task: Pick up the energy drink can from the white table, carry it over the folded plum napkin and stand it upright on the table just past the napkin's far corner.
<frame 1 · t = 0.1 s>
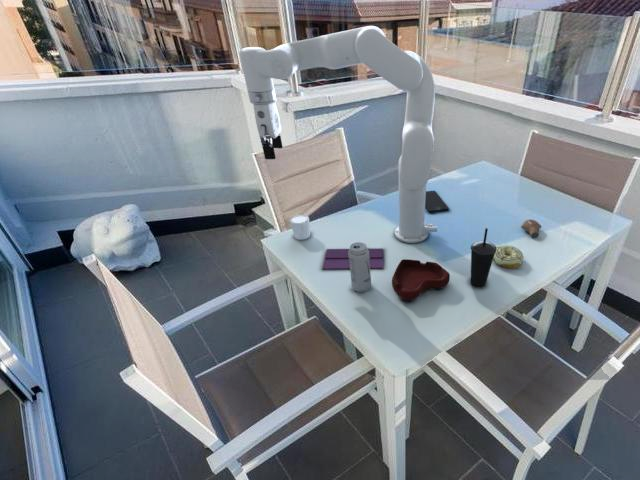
hand: (274, 153, 124), 31 cm above the table, tool pointing down, fingers open, 9 cm apart
napkin: (354, 259, 132), on the table
drinking cup: (477, 283, 123), on the table
ashtray: (415, 284, 122), on the table
cell phone: (431, 202, 166), on the table
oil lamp: (530, 232, 148), on the table
decorated donut: (506, 261, 133), on the table
energy drink can: (361, 287, 121), on the table
shot glass: (302, 236, 144), on the table
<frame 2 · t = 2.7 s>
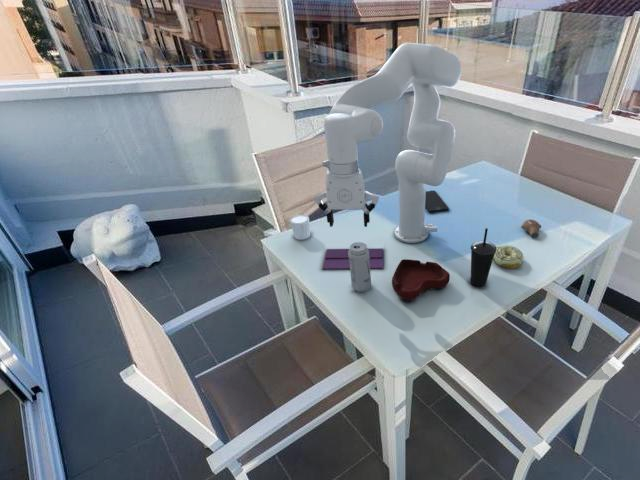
hand: (349, 224, 109), 21 cm above the table, tool pointing down, fingers open, 9 cm apart
nothing on the table moved.
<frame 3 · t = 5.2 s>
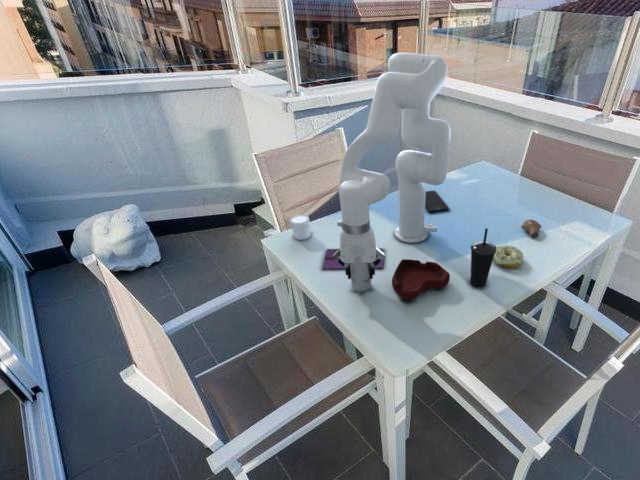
hand: (360, 275, 118), 4 cm above the table, tool pointing down, fingers closed on energy drink can, 6 cm apart
energy drink can: (361, 287, 121), on the table, touching gripper
everything else where it was.
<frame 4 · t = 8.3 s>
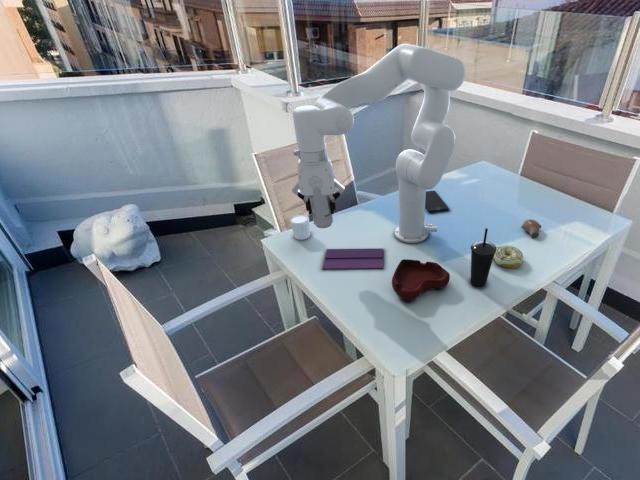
hand: (321, 211, 118), 19 cm above the table, tool pointing down, fingers closed on energy drink can, 6 cm apart
energy drink can: (323, 224, 121), point 15 cm above the table, touching gripper
everything else where it was.
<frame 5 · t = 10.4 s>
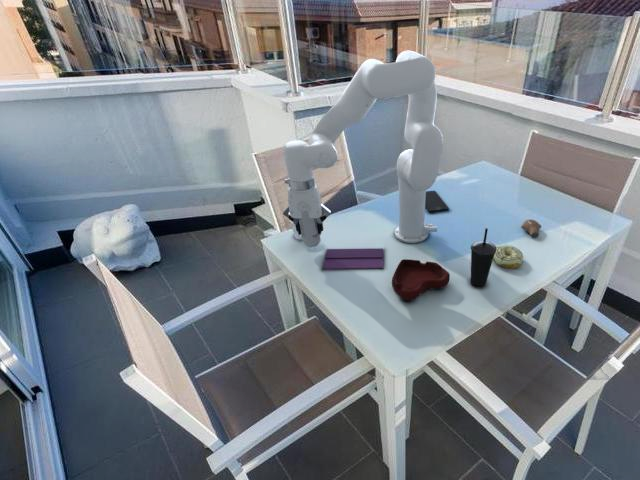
hand: (310, 232, 131), 8 cm above the table, tool pointing down, fingers closed on energy drink can, 6 cm apart
energy drink can: (312, 243, 133), point 3 cm above the table, touching gripper
everything else where it was.
when the fingers open (4 cm above the table, at t = 11.9 s): energy drink can stays where it is, on the table.
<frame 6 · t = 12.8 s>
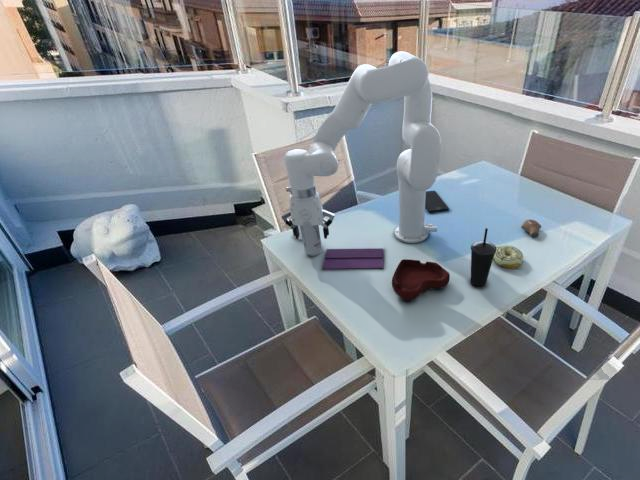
hand: (312, 236, 132), 6 cm above the table, tool pointing down, fingers open, 9 cm apart
energy drink can: (313, 252, 136), on the table
everything else where it was.
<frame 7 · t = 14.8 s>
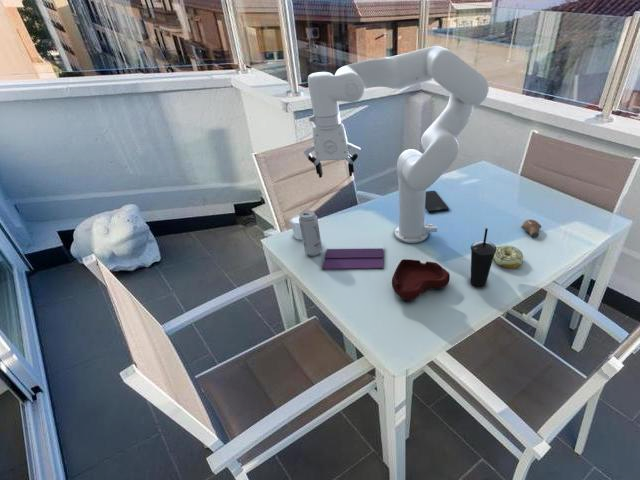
hand: (336, 175, 124), 26 cm above the table, tool pointing down, fingers open, 9 cm apart
nothing on the table moved.
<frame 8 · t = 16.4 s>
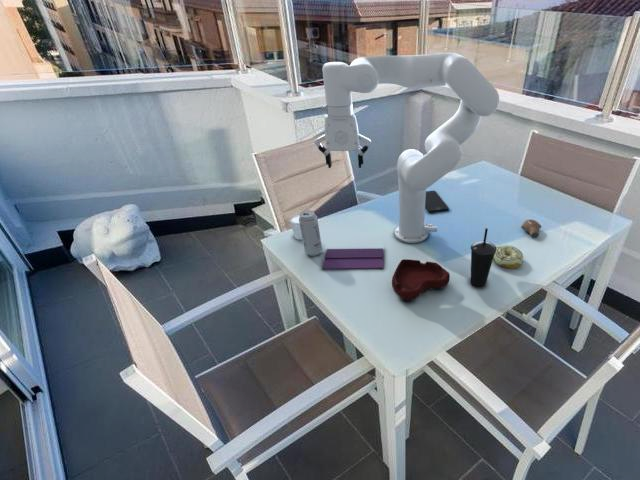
hand: (345, 166, 124), 28 cm above the table, tool pointing down, fingers open, 9 cm apart
nothing on the table moved.
at the end: energy drink can inside the target area on the table beside the napkin (1.5 cm from its centre), on the table; energy drink can touching table; energy drink can tilted 0° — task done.
